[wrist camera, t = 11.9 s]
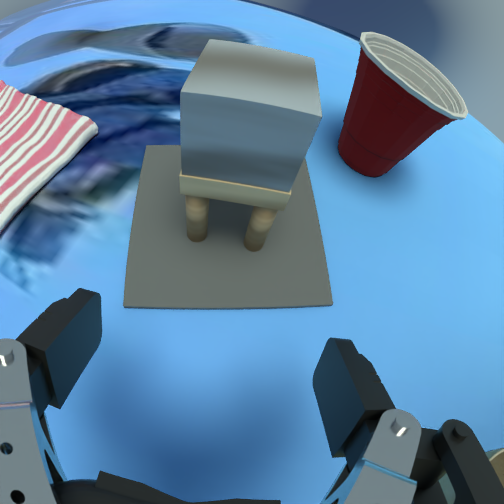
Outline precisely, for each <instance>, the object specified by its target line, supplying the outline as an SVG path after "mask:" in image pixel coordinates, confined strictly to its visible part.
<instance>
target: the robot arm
mask: <svg viewBox="0 0 504 504" xmlns="http://www.w3.org/2000/svg"><path fill="white" fill-rule="evenodd" d="M101 337H102V317H101V296H100V294H99V293H97V292H93V291H89V290H86V289H82V288H79V289H77V290H76V291H75V292H74V293H73V294H72V295H71V296H70V297H69V298H68V299H67V298H63V299H61V300H58V301H56V302H54V303H52V304H51V305H50V306H49V307H48V308H47V309H46V310H45V312H43V313H42V314H41V315H40V316H39V317H38V319H35V320H34V321H33V322H32V323H31V324H30V325H29V326H28V327H27V328H26V329H25V330H24V331H23V332H22V333H21V334H20V335H19V336H18V338H17V339H16V340H14V339H0V504H281V502H280V500H251V499H229V500H220V501H208V502H185V501H182V500H180V499H177V498H175V497H172V496H170V495H168V494H165V493H163V492H161V491H159V490H156V489H154V488H152V487H150V486H148V485H145V484H143V483H140V482H136V481H133V480H129V479H126V478H122V477H119V476H116V475H112V474H109V473H106V472H103V471H100V472H99V475H98V478H97V480H90V479H79V480H69V481H67V478H66V476H65V474H64V472H63V469H62V467H61V465H60V462H59V460H58V457H57V453H56V450H55V447H54V444H53V440H52V437H51V433H50V429H49V425H48V421H47V417H46V414H45V409H46V408H47V406H48V404H49V405H51V406H54V407H56V408H58V409H61V407H62V405H63V404H64V402H65V400H66V399H67V397H68V395H69V393H70V392H71V390H72V388H73V387H74V385H75V383H76V382H77V380H78V378H79V377H80V375H81V374H82V372H83V370H84V369H85V367H86V366H87V364H88V362H89V361H90V359H91V358H92V356H93V354H94V353H95V351H96V350H97V348H98V346H99V344H100V341H101ZM376 374H377V373H376V371H375V369H374V367H373V365H372V363H371V362H370V361H368V360H367V359H366V358H365V357H364V356H363V355H362V354H359V353H358V351H357V349H356V348H355V346H354V344H353V342H352V341H351V340H349V339H340V338H329V339H328V341H327V343H326V345H325V348H324V350H323V352H322V355H321V357H320V360H319V362H318V364H317V367H316V369H315V371H314V375H313V388H314V392H315V396H316V399H317V403H318V406H319V410H320V414H321V417H322V421H323V425H324V428H325V432H326V436H327V440H328V443H329V447H330V451H331V455H332V458H334V457H346V461H347V462H346V464H345V465H344V466H343V467H342V469H341V471H340V472H339V474H338V476H337V477H336V479H335V481H334V482H333V484H332V486H331V487H330V489H329V490H328V492H327V493H326V495H325V497H324V498H323V500H322V501H321V503H320V504H448V503H447V500H446V498H445V495H444V493H443V490H442V488H441V485H440V483H439V480H440V479H441V478H442V477H443V476H444V475H445V474H446V473H447V475H448V477H449V480H450V482H451V484H452V487H453V489H454V491H455V501H454V503H453V504H504V487H503V485H502V483H501V482H500V480H499V478H498V476H497V474H496V472H495V470H494V468H493V466H492V464H491V463H490V461H489V459H488V457H487V455H486V453H485V452H484V450H483V448H482V446H481V445H480V443H479V441H478V439H477V438H476V436H475V434H474V433H473V431H472V430H471V428H470V427H469V426H468V425H467V424H465V423H464V422H462V421H459V420H455V419H450V420H447V421H446V422H445V423H444V424H443V425H442V426H441V428H440V429H439V430H433V429H426V428H421V426H420V424H419V422H418V420H417V419H416V418H415V417H414V416H413V415H411V414H410V413H408V412H406V411H403V410H399V409H396V408H395V406H394V404H393V402H392V400H391V398H390V397H389V395H388V393H387V391H386V389H385V387H384V385H383V384H382V383H381V380H380V378H379V376H378V375H376Z"/></svg>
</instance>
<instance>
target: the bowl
mask: <svg viewBox="0 0 504 504" xmlns="http://www.w3.org/2000/svg"><path fill="white" fill-rule="evenodd" d="M485 453H486V455H487V457H488V459H489V461H490V463H491V464H492V466H493V468H494V470H495V472H496V474H497V476H498V478H499V480H500V482H501V483H502V485H503V487H504V448H500V449H496V450H492V451H488V452H485ZM439 483H440V485H441V488H442V490H443V493H444V495H445V498H446V500H447V503H448V504H453V503H454V501H455V491H454V489H453V487H452V484H451V482H450V480H449V477H448V475H447V473H446V474H445V475H444V476H443V477H442V478H441V479H440V480H439Z"/></svg>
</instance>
